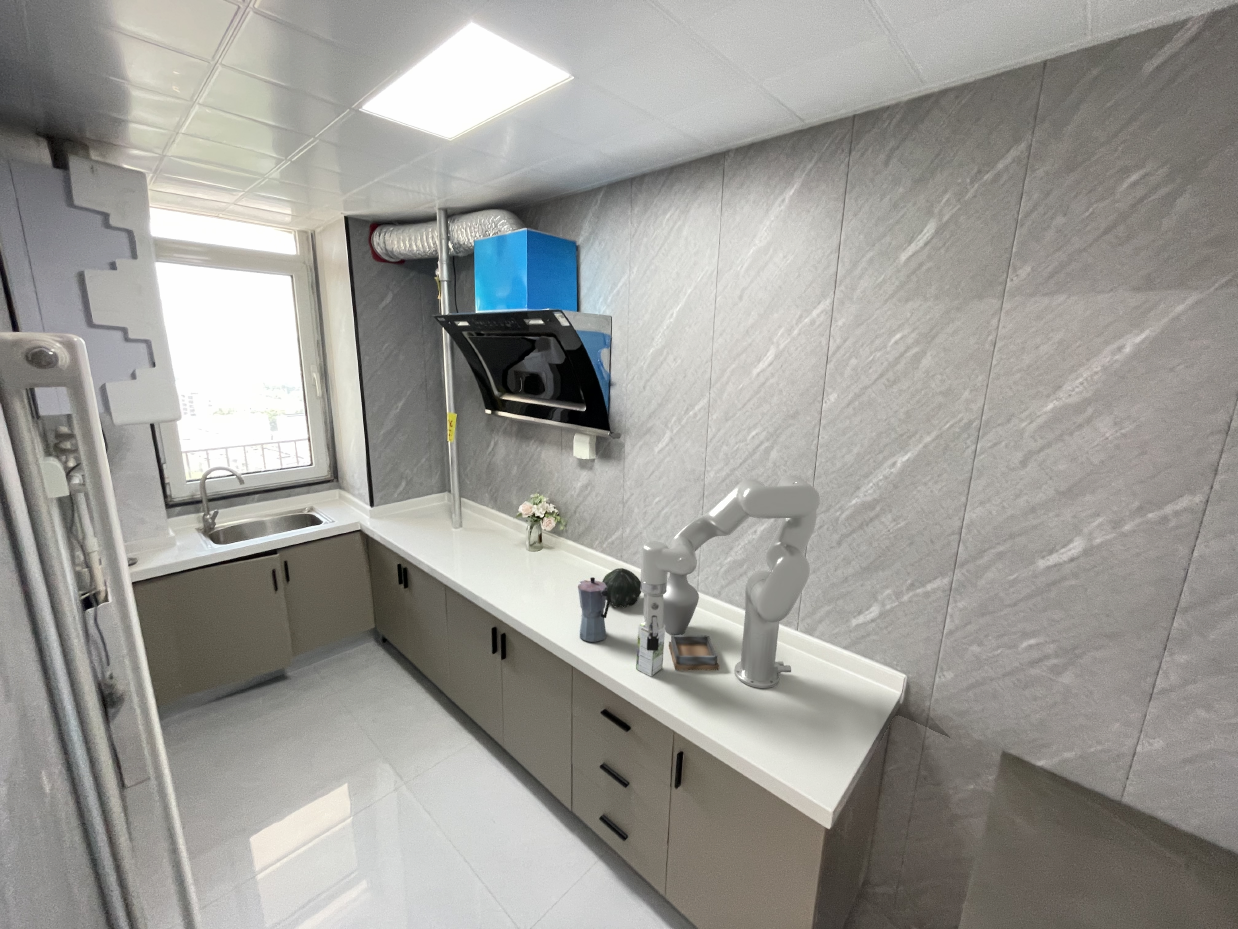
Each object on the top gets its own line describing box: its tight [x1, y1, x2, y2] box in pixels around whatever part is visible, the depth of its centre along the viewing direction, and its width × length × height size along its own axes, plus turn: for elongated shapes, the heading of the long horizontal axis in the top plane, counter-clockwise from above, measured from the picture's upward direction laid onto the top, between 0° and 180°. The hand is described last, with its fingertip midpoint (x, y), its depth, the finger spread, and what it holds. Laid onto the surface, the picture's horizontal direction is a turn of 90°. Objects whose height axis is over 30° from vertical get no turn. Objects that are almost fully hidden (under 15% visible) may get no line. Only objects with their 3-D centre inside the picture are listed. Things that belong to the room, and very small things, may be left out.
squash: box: [601, 567, 642, 608], centre depth 190 cm, size 14×15×15 cm
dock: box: [668, 634, 720, 671], centre depth 157 cm, size 13×13×4 cm
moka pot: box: [577, 577, 611, 643], centre depth 165 cm, size 10×15×20 cm, turn 44°
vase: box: [663, 572, 700, 636], centre depth 170 cm, size 14×14×25 cm
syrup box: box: [635, 622, 666, 677], centre depth 149 cm, size 6×6×14 cm
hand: (650, 641), depth 149 cm, fingers closed on syrup box, 7 cm apart
